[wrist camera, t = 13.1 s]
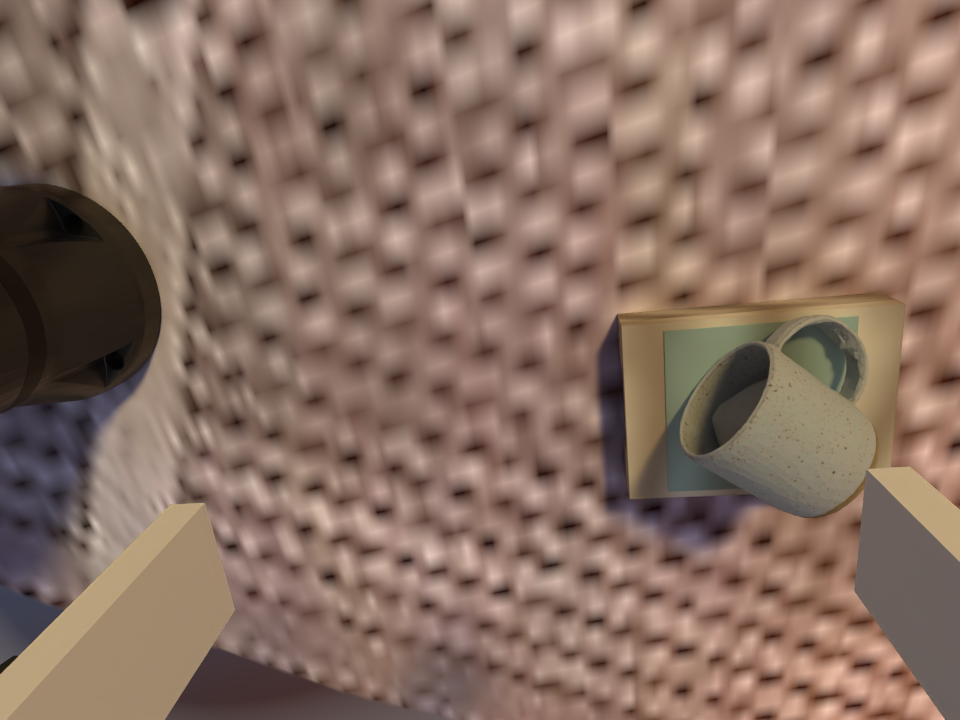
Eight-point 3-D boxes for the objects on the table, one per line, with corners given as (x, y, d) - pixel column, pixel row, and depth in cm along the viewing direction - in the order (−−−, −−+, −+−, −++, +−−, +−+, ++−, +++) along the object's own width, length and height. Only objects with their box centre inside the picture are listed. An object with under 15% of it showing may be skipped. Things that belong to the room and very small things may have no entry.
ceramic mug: (773, 486, 41) (822, 557, 33) (666, 422, 40) (692, 480, 33) (889, 352, 37) (972, 400, 30) (775, 280, 37) (831, 310, 29)
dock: (625, 477, 45) (630, 500, 42) (617, 314, 41) (621, 326, 39) (866, 466, 43) (889, 489, 40) (880, 292, 39) (906, 304, 36)
